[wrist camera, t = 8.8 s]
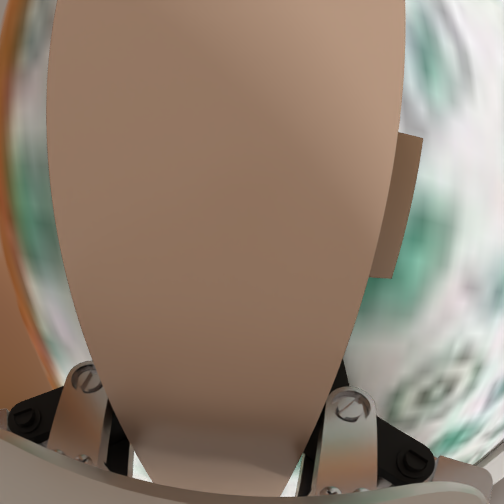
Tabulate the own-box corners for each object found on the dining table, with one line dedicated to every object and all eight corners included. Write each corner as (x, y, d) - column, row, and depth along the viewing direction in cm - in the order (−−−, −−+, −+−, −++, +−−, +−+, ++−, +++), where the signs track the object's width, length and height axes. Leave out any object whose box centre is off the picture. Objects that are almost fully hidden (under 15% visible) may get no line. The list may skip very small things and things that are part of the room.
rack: (368, 78, 10) (430, 64, 5) (304, 397, 18) (310, 463, 13) (143, 65, 10) (75, 47, 6) (165, 384, 18) (146, 448, 13)
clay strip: (321, -7, 6) (387, -123, 1) (261, 447, 16) (258, 532, 11) (187, -13, 6) (99, -118, 1) (196, 441, 16) (182, 525, 11)
